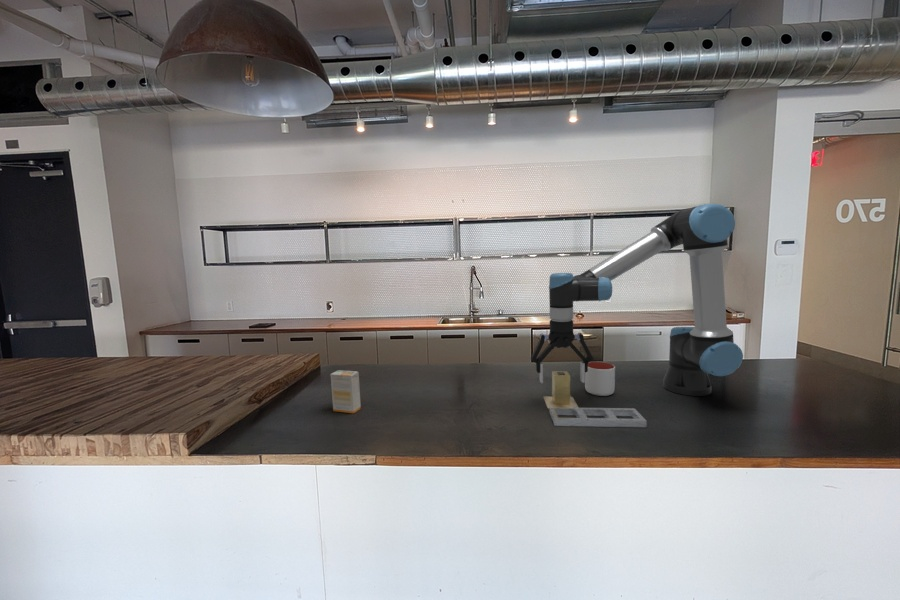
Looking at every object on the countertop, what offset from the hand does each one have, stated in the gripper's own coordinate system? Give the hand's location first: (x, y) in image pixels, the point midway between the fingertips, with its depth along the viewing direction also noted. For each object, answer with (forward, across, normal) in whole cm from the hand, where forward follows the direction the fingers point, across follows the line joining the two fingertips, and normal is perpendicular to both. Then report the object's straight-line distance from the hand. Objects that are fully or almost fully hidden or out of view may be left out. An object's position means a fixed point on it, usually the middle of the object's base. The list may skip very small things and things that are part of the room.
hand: (561, 381), depth 128 cm
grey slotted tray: (+8, -8, +13) cm, 17 cm away
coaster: (+7, 0, 0) cm, 8 cm away
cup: (+8, -16, -11) cm, 21 cm away
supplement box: (+7, +72, +8) cm, 73 cm away
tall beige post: (+7, 0, 0) cm, 7 cm away
